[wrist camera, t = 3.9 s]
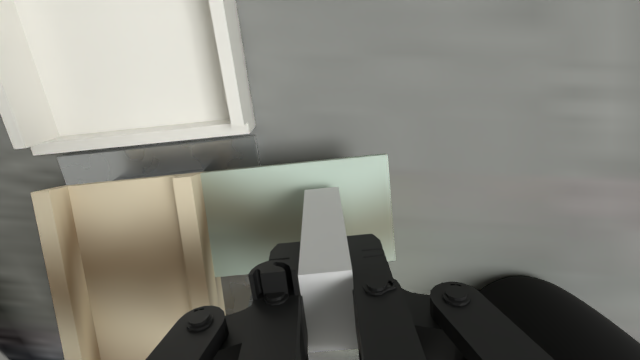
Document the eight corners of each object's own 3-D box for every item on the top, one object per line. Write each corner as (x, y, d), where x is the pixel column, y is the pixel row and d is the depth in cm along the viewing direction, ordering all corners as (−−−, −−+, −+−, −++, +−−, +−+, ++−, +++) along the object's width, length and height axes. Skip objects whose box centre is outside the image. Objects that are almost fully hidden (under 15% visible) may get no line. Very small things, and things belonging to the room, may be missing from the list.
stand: (63, 154, 21) (-72, 211, 14) (255, 134, 21) (222, 181, 14) (155, 421, 28) (98, 553, 21) (299, 409, 28) (294, 538, 21)
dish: (-23, -89, 17) (-133, -134, 13) (216, -118, 17) (183, -172, 13) (58, 145, 21) (-7, 170, 17) (255, 125, 21) (240, 145, 16)
